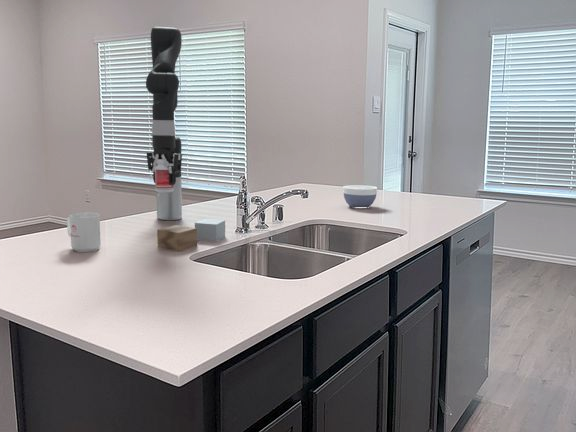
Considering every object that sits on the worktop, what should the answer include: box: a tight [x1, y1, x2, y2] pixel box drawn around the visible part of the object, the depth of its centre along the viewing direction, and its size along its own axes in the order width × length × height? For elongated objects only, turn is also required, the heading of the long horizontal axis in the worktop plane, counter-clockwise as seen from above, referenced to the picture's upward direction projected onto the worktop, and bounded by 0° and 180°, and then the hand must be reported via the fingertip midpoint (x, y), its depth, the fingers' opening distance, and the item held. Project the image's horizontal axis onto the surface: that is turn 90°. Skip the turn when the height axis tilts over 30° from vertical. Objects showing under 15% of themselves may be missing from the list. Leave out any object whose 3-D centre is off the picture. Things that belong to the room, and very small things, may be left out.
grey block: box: [194, 218, 226, 243], centre depth 205 cm, size 8×8×6 cm
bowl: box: [342, 184, 378, 208], centre depth 275 cm, size 16×16×10 cm
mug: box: [66, 212, 102, 253], centre depth 186 cm, size 12×9×11 cm
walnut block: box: [156, 224, 198, 252], centre depth 192 cm, size 9×9×6 cm
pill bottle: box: [154, 159, 174, 193], centre depth 198 cm, size 6×6×11 cm
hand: (164, 183), depth 199 cm, fingers closed on pill bottle, 6 cm apart
